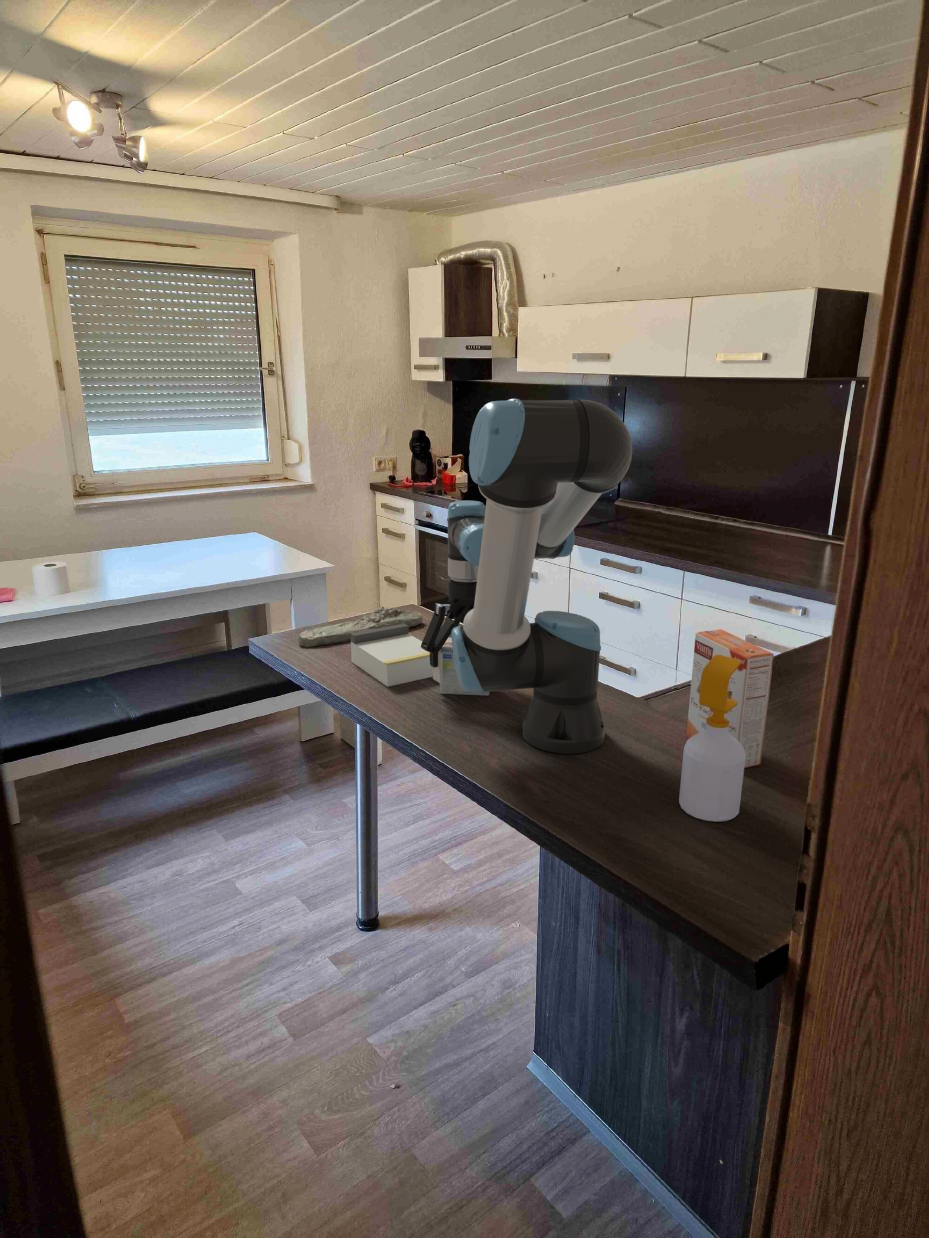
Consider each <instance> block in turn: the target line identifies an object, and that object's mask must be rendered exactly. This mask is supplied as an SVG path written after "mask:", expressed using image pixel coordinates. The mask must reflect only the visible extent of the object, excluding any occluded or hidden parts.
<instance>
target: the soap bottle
mask: <svg viewBox="0 0 929 1238" xmlns="http://www.w3.org/2000/svg"><path fill="white" fill-rule="evenodd" d="M739 666H740V660H738V659H734V658H730V657H726V656H722V655H715V656H714V657H713V658H712V659H711V660H710V661H709V663H708V664H707V665H706V666H705V668H704V669H703V672H702V675H701V684H700V695H699V704H700V705H703V706H706V707H710V711H711V712H713V716H710V717H708V718H707V720H706V729H705V731H704V732H700V733H697V734H696V735H694V736H692V737H691V738H688V739H687V740H686V742H685V744H684V746H683V753H682V764H681V765H682V766H681V775H680V777H681V778H680V786H679V797H678V803H679V805H680V808H681V810H683V811H684V812H685V813H686V814H687V815H690V816H691V817H694V818H696V819H699V820H702V821H707V822H716V823H717V822H727V821H730V820H732V819H734V818H736V816H738V815H739V814H740V807H741V797H742V791H743V790H742V789H743V782H744V774H745V768H744V766H745V757H746V753H745V750H744V748H743V746H742V745H741V743H739V742H738V741H737V740H736V739H735V738H733V737H732V736H730V735H729V734H728V729H729V720H728V719H726V718H724V714H726V713H728V712H729V711H730V710H731V709H732V708H734V707H735V706H737V701H735V700H731V699H728V698H727V692H728V684H729V680H730V677H731V676H732V674H733V673H734V672H735V670H736V669H737V668H738V667H739Z"/></svg>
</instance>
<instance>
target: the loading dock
mask: <svg viewBox="0 0 929 1238" xmlns="http://www.w3.org/2000/svg"><path fill="white" fill-rule="evenodd" d="M422 641H423V640H420V639H419V638H417V637H415V636H413V635H412V634H410V633H409V629H408V625H406V624H399V625H394V626H388V627H383V628H377V629H372V630H366V631H361V632H355V633H351V640H350V650H351V651H350V653H351V663H353V665H355V666H357V667H358V668H360V669H361V670H362V671H364V672H365V673H366V674H369V675H370V676H371V677H372V678H374V679H376V681H379V682H380V683H381V684H383V685H385V686H386V687H387V688H388V687H389V688H390V687H392V686H393V687H394V686H397V685H402V684H407V683H410V682H414V681H420V680H423V679H427V678H428V679H429V678H433V667H432V666H431V665H430V652H427V651H425V650H424V649H422V648H421V644H422Z"/></svg>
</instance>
